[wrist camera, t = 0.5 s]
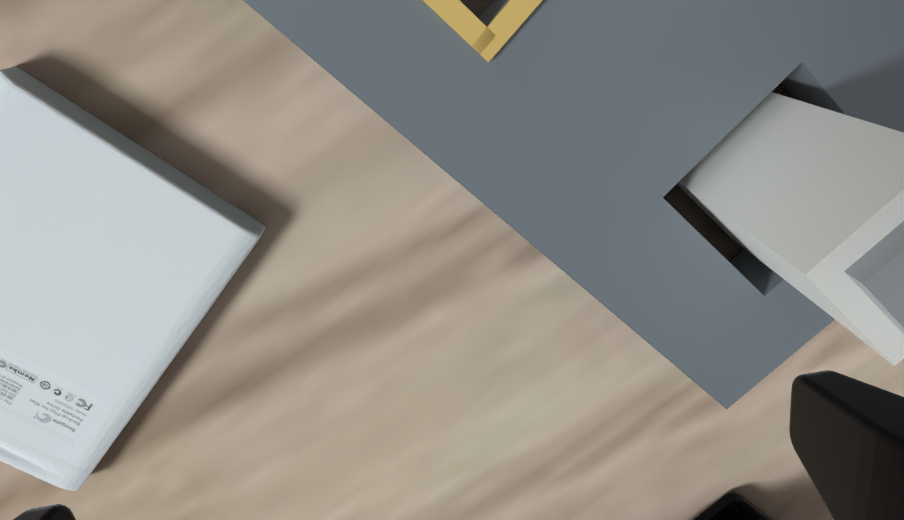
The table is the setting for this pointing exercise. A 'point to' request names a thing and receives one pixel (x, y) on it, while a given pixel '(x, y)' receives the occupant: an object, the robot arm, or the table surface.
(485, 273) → the table surface
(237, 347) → the table surface
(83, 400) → the external hard drive
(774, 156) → the plug
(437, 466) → the table surface
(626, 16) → the panel
